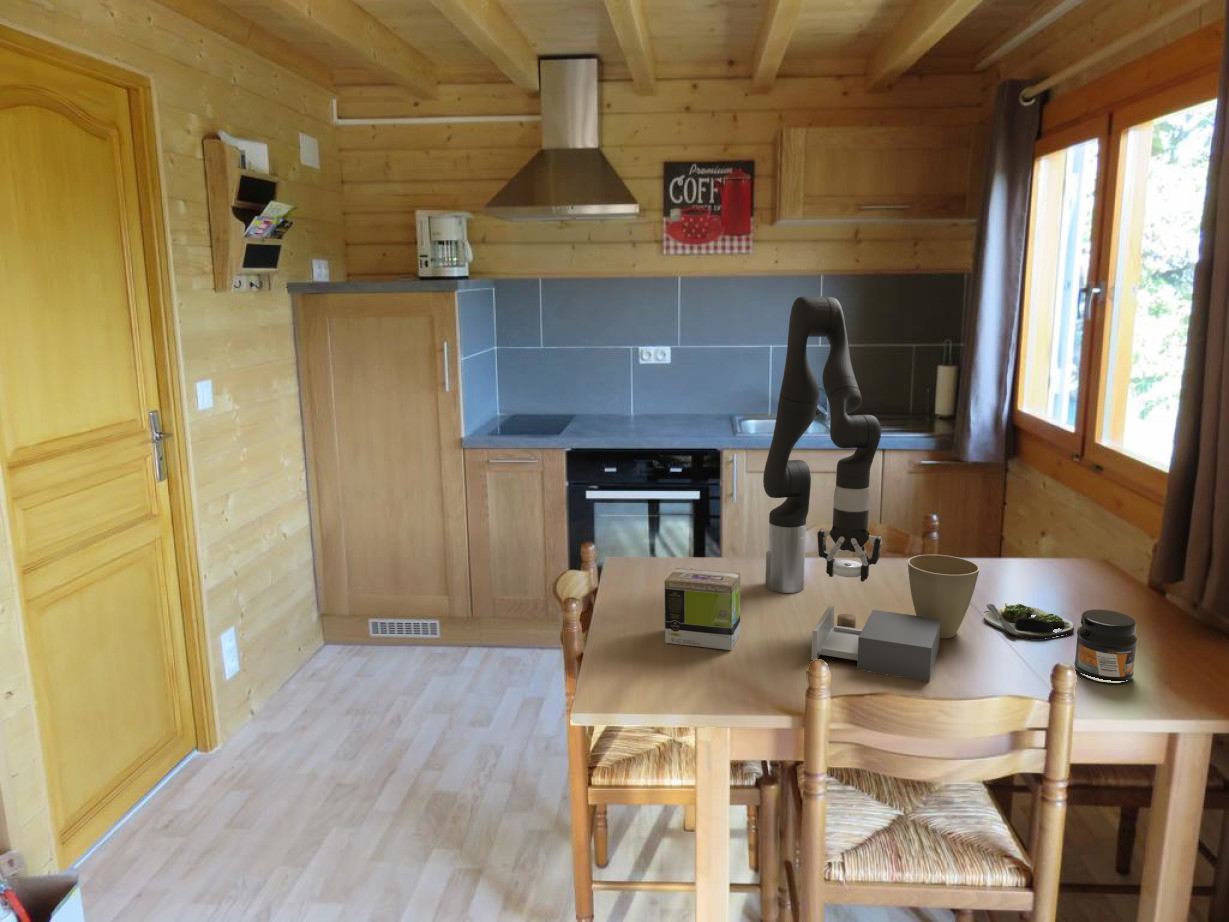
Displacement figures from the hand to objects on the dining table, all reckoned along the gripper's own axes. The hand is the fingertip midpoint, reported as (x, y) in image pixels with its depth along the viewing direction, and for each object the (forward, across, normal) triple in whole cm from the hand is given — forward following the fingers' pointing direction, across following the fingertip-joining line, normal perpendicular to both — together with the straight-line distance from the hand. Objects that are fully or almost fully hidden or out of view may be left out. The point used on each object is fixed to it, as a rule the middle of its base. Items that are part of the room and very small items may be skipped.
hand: (847, 578), depth 202 cm
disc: (-1, 0, 0) cm, 1 cm away
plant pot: (+13, +20, +8) cm, 24 cm away
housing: (+12, +14, -11) cm, 21 cm away
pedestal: (+13, 0, 0) cm, 13 cm away
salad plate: (+13, +37, +20) cm, 44 cm away
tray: (+12, +4, -11) cm, 17 cm away
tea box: (+13, -28, -17) cm, 35 cm away
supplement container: (+12, +52, -2) cm, 53 cm away
